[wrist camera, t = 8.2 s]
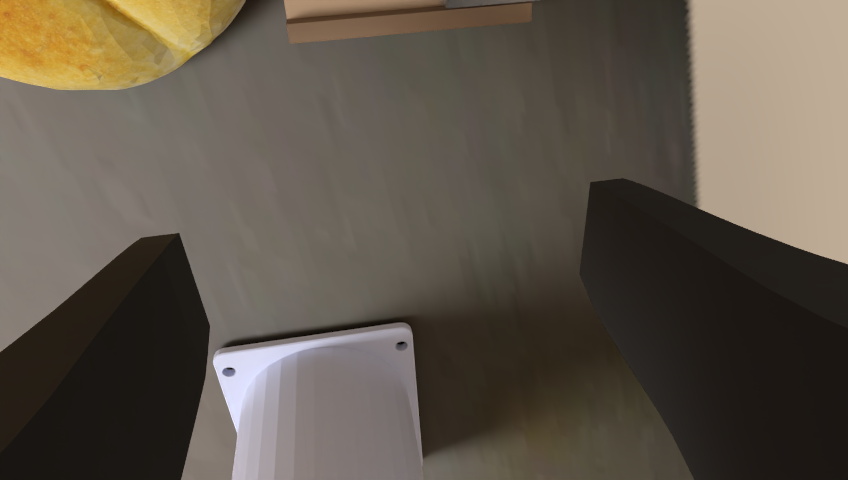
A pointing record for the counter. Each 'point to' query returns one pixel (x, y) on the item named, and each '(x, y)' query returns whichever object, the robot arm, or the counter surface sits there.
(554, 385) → the counter surface
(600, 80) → the counter surface
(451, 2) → the jaw
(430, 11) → the press bed
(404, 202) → the counter surface
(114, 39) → the bread roll
